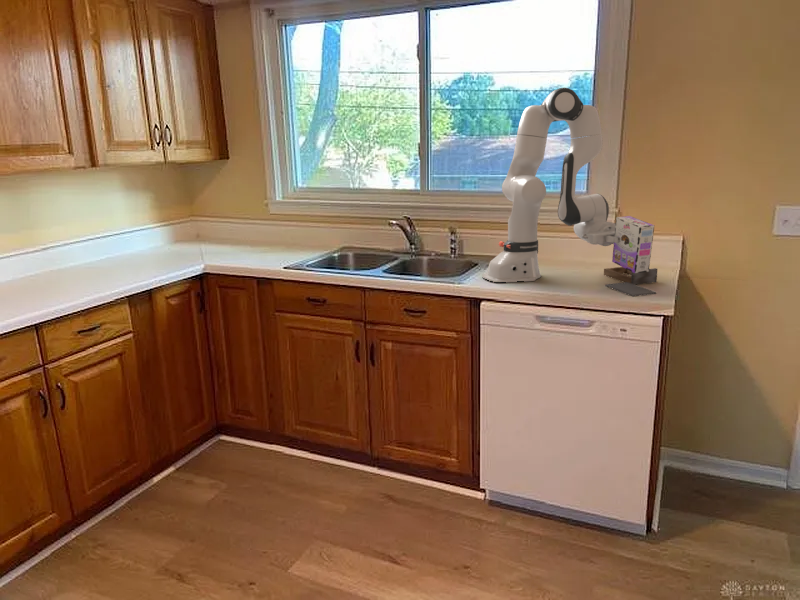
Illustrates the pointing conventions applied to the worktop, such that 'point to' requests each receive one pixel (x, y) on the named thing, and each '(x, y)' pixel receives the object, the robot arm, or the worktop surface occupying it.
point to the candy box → (633, 244)
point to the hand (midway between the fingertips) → (627, 239)
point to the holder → (632, 275)
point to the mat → (630, 289)
